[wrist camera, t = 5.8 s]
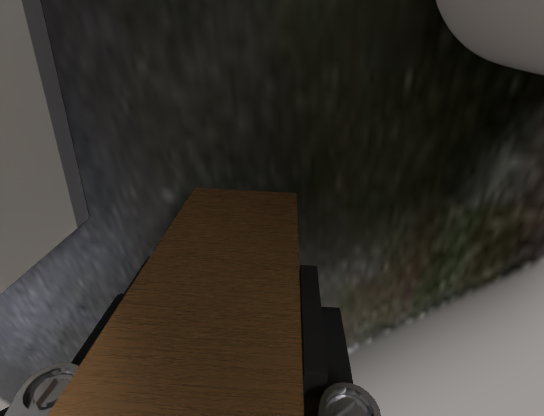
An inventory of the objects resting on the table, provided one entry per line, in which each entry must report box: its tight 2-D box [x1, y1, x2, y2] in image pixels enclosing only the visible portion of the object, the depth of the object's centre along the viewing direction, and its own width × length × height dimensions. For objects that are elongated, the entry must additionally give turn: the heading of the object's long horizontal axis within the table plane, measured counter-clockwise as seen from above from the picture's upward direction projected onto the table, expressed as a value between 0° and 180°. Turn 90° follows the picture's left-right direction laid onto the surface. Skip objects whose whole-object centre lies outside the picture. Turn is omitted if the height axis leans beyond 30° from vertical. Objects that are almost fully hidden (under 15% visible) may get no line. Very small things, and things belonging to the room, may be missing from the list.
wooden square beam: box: [47, 188, 304, 416], centre depth 9 cm, size 4×5×12 cm
